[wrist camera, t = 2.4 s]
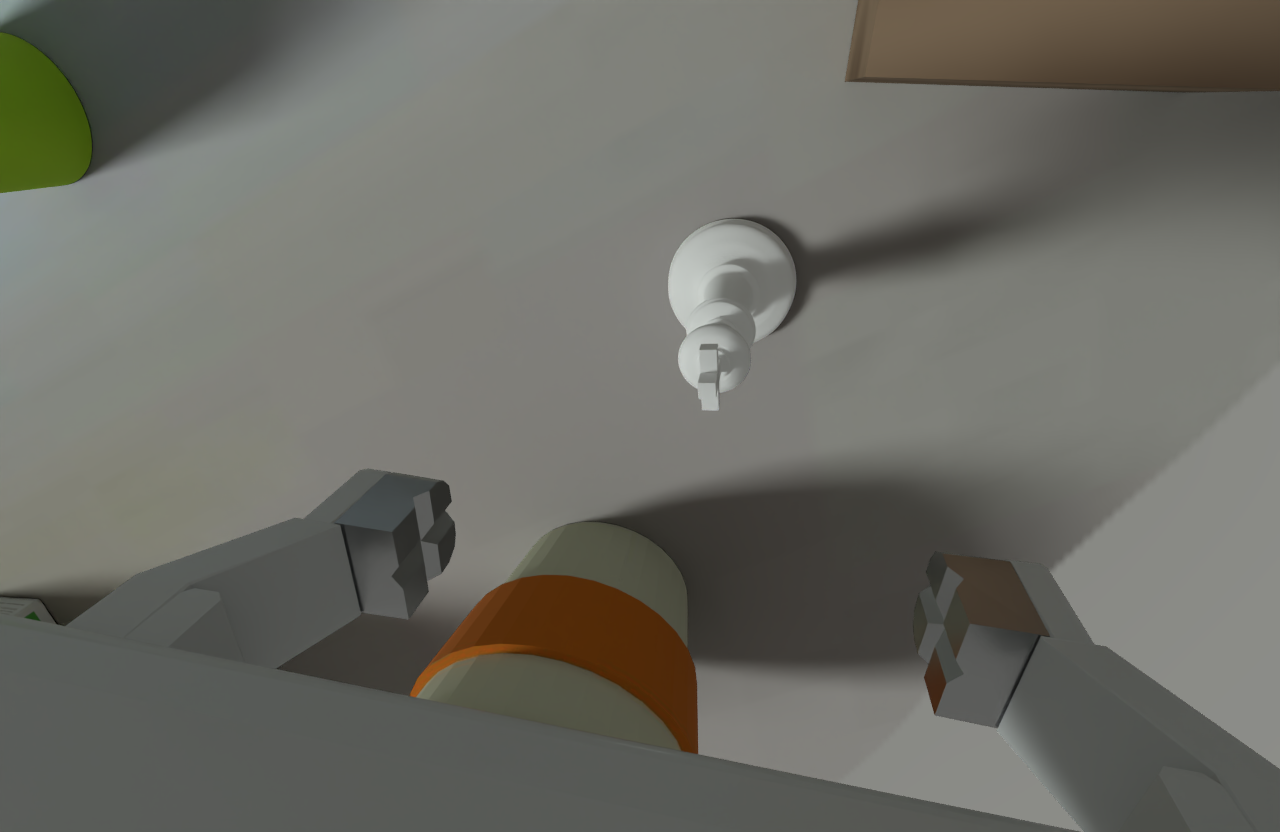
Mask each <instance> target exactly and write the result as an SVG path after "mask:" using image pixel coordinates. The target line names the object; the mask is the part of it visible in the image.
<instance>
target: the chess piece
mask: <svg viewBox="0 0 1280 832" xmlns="http://www.w3.org/2000/svg"><path fill="white" fill-rule="evenodd" d="M795 291H796V270H795V265H794V262H793V259H792V256H791V254H790V252H789V250H788V249H787V247H786V245H785V244H784V243H783V241H782V240H781V239H780V238H779V237H778V236H777V235H776V234H775V233H773V232H772V231H771V230H769V229H768V228H766V227H764V226H762V225H760V224H758V223H755V222H753V221H749V220H744V219H723V220H718V221H714V222H711V223H709V224H706V225H704V226H702V227H701V228H699V229H697V230H696V231H695V232H693V233H692V234H691V235H690V236H688V237H687V238H686V239H685V241H684V242H683V243H682V244H681V246H680V247H679V249H678V250H677V252H676V254H675V256H674V258H673V260H672V263H671V266H670V271H669V278H668V292H669V299H670V303H671V306H672V309H673V311H674V313H675V315H676V317H677V318H678V320H679V321H680V323H681V324H682V325H683V326H684V328H685V329H686V332H687V336H686V338H685V339H684V340H683V342H682V344H681V346H680V349H679V354H678V363H679V368H680V371H681V373H682V375H683V376H684V378H685V379H686V380H687V381H688V382H689V383H690V384H691V385H692V386H693V387H695V388H697V389H698V399H702V410H719V406H720V393H723V392H727V391H729V390H732V389H734V388H735V387H737V386H738V385H739V384H741V383H742V381H743V380H744V379H745V378H746V376H747V374H748V372H749V370H750V366H751V353H750V348H751V346H752V344H753V343H755V342H757V341H759V340H761V339H763V338H765V337H766V336H768V335H769V334H770V333H772V332H773V331H774V330H775V329H776V328H777V327H778V326H779V325H780V324H781V322H782V321H783V320H784V318H785V317H786V315H787V313H788V311H789V309H790V307H791V305H792V302H793V299H794V296H795Z"/></svg>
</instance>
